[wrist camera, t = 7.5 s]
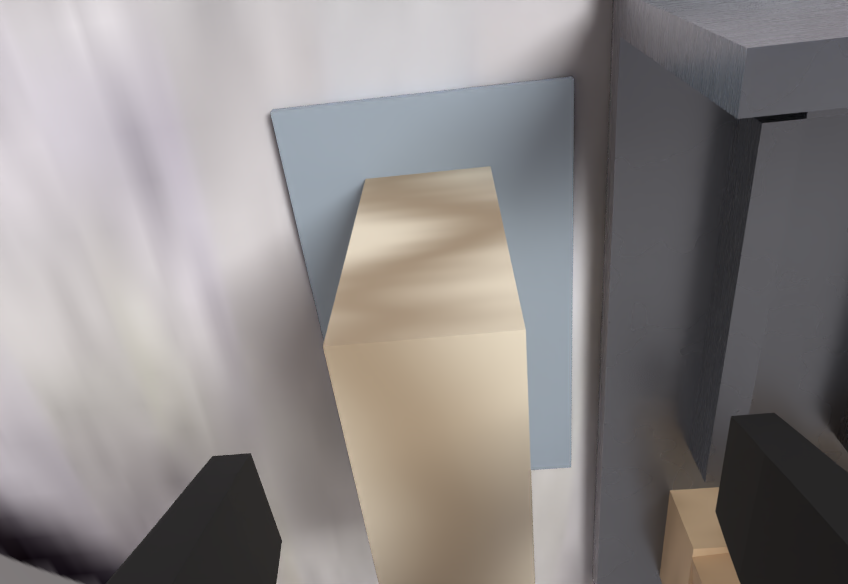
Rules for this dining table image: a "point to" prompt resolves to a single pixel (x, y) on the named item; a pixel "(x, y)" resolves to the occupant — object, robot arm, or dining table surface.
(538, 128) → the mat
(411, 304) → the block
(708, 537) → the offcuts
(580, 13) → the dining table surface
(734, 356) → the rack
